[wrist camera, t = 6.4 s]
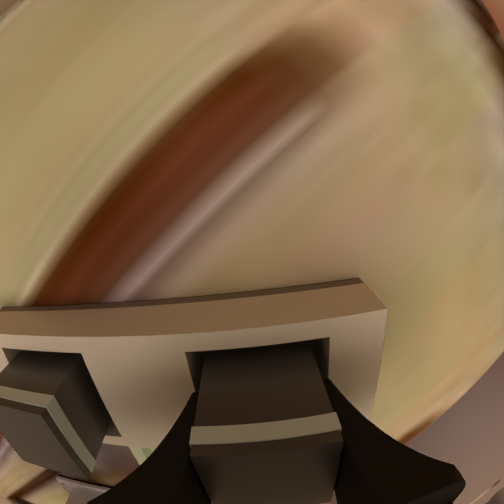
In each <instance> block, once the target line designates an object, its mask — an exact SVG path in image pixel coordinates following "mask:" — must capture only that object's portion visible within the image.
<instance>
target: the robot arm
mask: <svg viewBox="0 0 504 504" xmlns="http://www.w3.org/2000/svg"><path fill="white" fill-rule="evenodd" d="M322 380H323V383H324V386H325V389H326V391H327V394H328V397H329V400H330V403H331V406H332V408H333V411H334V412H336V414H337V416H338V419H339V422H340V425H341V428H342V430H341V434H342V437H343V440H344V442H343V447H342V453H341V458H340V463H339V468H338V473H337V478H336V482H335V487H334V490H335V494H336V499H337V504H453V501H454V500H455V499H456V498H457V497H458V496H459V494H460V493H461V492H462V491H463V489H464V487H465V484H466V483H465V480H464V479H463V477H462V475H461V474H460V472H459V471H458V470H457V469H456V467H455V466H454V465H453V464H449V463H446V462H443V461H439V460H436V459H433V458H430V457H428V456H426V455H423V454H421V453H419V452H417V451H415V450H413V449H411V448H409V447H407V446H405V445H403V444H401V443H400V442H398V441H397V440H395V439H393V438H392V437H390V436H389V435H387V434H386V433H384V432H383V431H382V430H380V429H379V428H378V427H376V426H375V425H374V424H373V423H372V422H370V421H369V420H368V419H367V418H366V417H365V416H364V415H362V414H361V413H360V412H359V411H358V410H357V409H356V408H355V407H354V406H353V405H352V404H351V403H350V402H349V401H348V400H347V399H346V397H345V396H344V395H343V394H342V393H341V392H340V391H339V390H338V388H337V387H336V386H335V385H334V383H333V382H332V381H331V380H330V379H329V378H327V379H322ZM198 395H199V392H193V393H192V394H191V396H190V398H189V400H188V402H187V403H186V405H185V407H184V409H183V410H182V412H181V414H180V415H179V417H178V419H177V420H176V422H175V423H174V425H173V426H172V428H171V429H170V431H169V432H168V433H167V435H166V436H165V437H164V439H163V440H162V441H161V443H160V444H159V445H158V447H157V448H156V449H155V450H154V451H153V452H152V453H151V455H150V456H149V457H148V458H147V459H146V460H145V461H144V462H143V463H142V464H141V465H140V466H139V467H138V468H137V469H135V470H134V471H133V472H132V473H131V474H130V475H129V476H127V477H126V478H125V479H123V480H122V481H121V482H119V483H118V484H117V485H115V486H114V487H112V488H107V487H102V486H97V485H93V484H88V483H84V482H80V481H76V480H72V479H68V478H64V477H61V476H57V478H56V480H57V481H58V482H59V483H60V484H61V485H62V486H63V487H64V488H65V489H66V490H67V491H68V492H69V493H70V495H69V497H68V500H67V503H66V504H211V501H210V499H209V497H208V495H207V493H206V491H205V488H204V486H203V484H202V482H201V480H200V478H199V476H198V474H197V471H196V469H195V467H194V465H193V462H192V460H191V458H190V451H191V447H190V444H189V442H190V435H191V428H192V427H194V422H195V415H196V408H197V402H198ZM485 504H504V487H503V488H502V489H501V490H499V491H498V492H497V493H496V494H495V495H494V496H493V497H492V498H491V499H490V501H488V502H487V503H485Z"/></svg>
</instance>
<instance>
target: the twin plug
mask: <svg viewBox="0 0 504 504" xmlns="http://www.w3.org/2000/svg"><path fill="white" fill-rule="evenodd" d="M111 420H112V418H111V416H110V414H109V412H108V410H107V408H106V406H105V404H104V402H103V400H102V398H101V396H100V394H99V392H98V390H97V388H96V386H95V384H94V382H93V379H92V377H91V375H90V373H89V370H88V368H87V366H86V364H85V361H84V359H83V356H82V354H81V353H66V352H47V351H33V350H21V351H20V352H19V353H18V354H17V355H16V356H15V357H14V358H13V359H12V360H11V362H10V363H9V364H8V365H7V366H6V367H5V368H4V369H3V370H2V371H1V373H0V431H1V433H2V434H3V435H4V437H5V438H6V439H7V441H8V442H9V443H10V445H11V446H12V447H13V448H14V450H15V451H16V452H17V453H18V455H19V456H20V457H21V458H22V459H23V460H24V461H27V462H30V463H32V464H35V465H38V466H42V467H45V468H48V469H51V470H55V471H58V472H62V473H65V474H69V475H73V476H77V477H81V478H86V479H88V478H89V476H90V473H91V472H93V469H94V467H95V464H96V461H95V460H96V457H97V455H98V452H99V449H100V447H101V444H102V442H103V439H104V437H105V434H106V432H107V429H108V427H109V425H110V422H111Z"/></svg>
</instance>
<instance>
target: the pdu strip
mask: <svg viewBox="0 0 504 504" xmlns="http://www.w3.org/2000/svg"><path fill="white" fill-rule="evenodd" d="M386 319H387V308H386V306H385V305H384V304H383V303H382V302H381V301H380V300H379V299H378V298H377V297H376V296H375V295H374V293H373V292H372V291H371V290H370V289H369V288H368V287H367V286H366V285H365V284H364V283H363V282H362V281H361V280H360V279H359V278H356V279H349V280H341V281H334V282H326V283H318V284H310V285H302V286H294V287H285V288H276V289H267V290H258V291H249V292H239V293H229V294H219V295H208V296H197V297H185V298H173V299H160V300H147V301H133V302H117V303H100V304H82V305H60V306H32V307H3V308H1V309H0V373H1V371H2V370H3V369H4V368H5V367H6V366H7V365H8V364H9V363H10V362H11V360H12V359H13V358H14V357H15V356H16V355H17V354H18V353H19V352H20V351H21V350H33V351H47V352H66V353H81V354H82V356H83V359H84V361H85V364H86V366H87V368H88V370H89V373H90V375H91V377H92V379H93V382H94V384H95V386H96V388H97V390H98V392H99V394H100V396H101V398H102V400H103V402H104V404H105V406H106V408H107V410H108V412H109V414H110V416H111V418H112V420H111V422H110V425H109V427H108V429H107V432H106V434H105V437H104V439H103V442H102V443H104V444H112V445H120V446H129V447H141V448H155V449H156V448H157V447H158V445H159V444H160V443H161V441H162V440H163V439H164V437H165V436H166V435H167V433H168V432H169V431H170V429H171V428H172V426H173V425H174V423H175V422H176V420H177V419H178V417H179V415H180V414H181V412H182V410H183V409H184V407H185V405H186V403H187V402H188V400H189V398H190V396H191V394H192V393H193V392H199V388H200V382H201V375H202V369H203V363H204V356H205V351H209V350H223V349H235V348H246V347H256V346H265V345H274V344H282V343H290V342H298V341H305V340H308V342H309V344H310V347H311V350H312V352H313V355H314V358H315V361H316V364H317V366H318V369H319V372H320V375H321V377H322V379H327V378H329V379H330V380H331V381H332V382H333V383H334V385H335V386H336V387H337V388H338V390H339V391H340V392H341V393H342V394H343V395H344V396H345V397H346V399H347V400H348V401H349V402H350V403H351V404H352V405H353V406H354V407H355V408H356V409H357V410H358V411H359V412H360V413H361V414H362V415H364V416H365V417H366V418H367V419H368V420H369V421H370V417H371V412H372V407H373V403H374V398H375V392H376V387H377V382H378V376H379V370H380V364H381V358H382V351H383V344H384V336H385V328H386Z"/></svg>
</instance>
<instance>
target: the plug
mask: <svg viewBox="0 0 504 504" xmlns="http://www.w3.org/2000/svg"><path fill="white" fill-rule="evenodd" d="M341 430H342V428H341V425H340V422H339V419H338V416H337V414H336V412H334V411H333V408H332V406H331V403H330V400H329V397H328V394H327V391H326V389H325V386H324V383H323V380H322V377H321V375H320V372H319V369H318V366H317V364H316V361H315V358H314V355H313V352H312V350H311V347H310V344H309V342H308V340H305V341H298V342H290V343H282V344H274V345H265V346H256V347H246V348H235V349H223V350H209V351H205V356H204V363H203V369H202V375H201V382H200V388H199V395H198V402H197V408H196V415H195V422H194V427H192V428H191V435H190V442H189V444H190V447H191V451H190V458H191V460H192V462H193V465H194V467H195V469H196V471H197V474H198V476H199V478H200V480H201V482H202V484H203V486H204V488H205V491H206V493H207V495H208V497H209V499H210V501H211V503H212V504H320V503H325V502H330V501H331V499H332V495H333V491H334V487H335V482H336V478H337V473H338V468H339V463H340V458H341V453H342V447H343V442H344V440H343V437H342V434H341Z"/></svg>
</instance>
